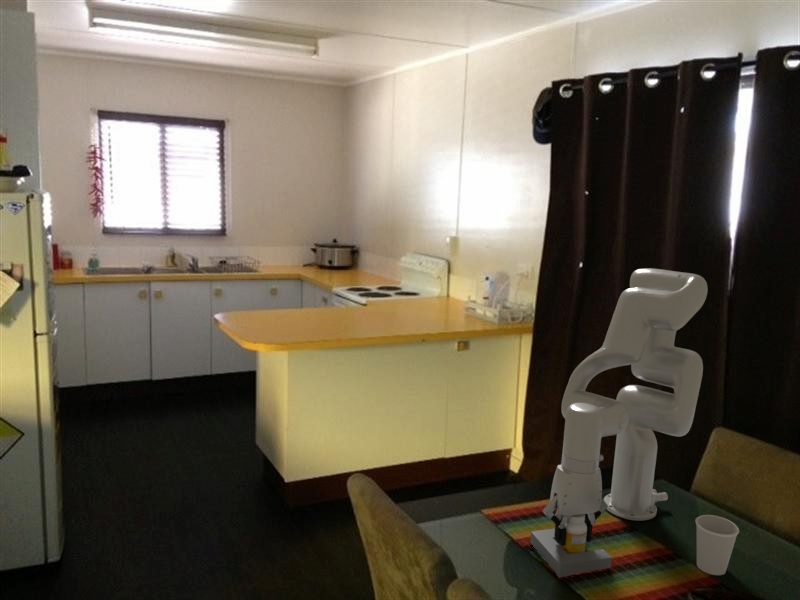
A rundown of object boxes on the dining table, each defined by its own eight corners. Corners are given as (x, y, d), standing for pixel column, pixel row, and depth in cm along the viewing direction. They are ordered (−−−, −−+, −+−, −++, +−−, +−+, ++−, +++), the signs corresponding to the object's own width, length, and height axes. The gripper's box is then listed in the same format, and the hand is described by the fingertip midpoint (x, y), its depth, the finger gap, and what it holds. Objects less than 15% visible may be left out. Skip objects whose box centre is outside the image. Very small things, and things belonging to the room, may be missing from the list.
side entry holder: (577, 537, 151) (578, 525, 151) (610, 570, 139) (611, 557, 139) (530, 543, 148) (531, 531, 148) (559, 578, 136) (560, 565, 135)
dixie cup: (711, 553, 147) (717, 512, 145) (742, 575, 139) (748, 532, 137) (681, 559, 144) (686, 517, 142) (710, 582, 136) (716, 537, 134)
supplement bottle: (555, 547, 146) (559, 507, 144) (579, 547, 147) (583, 506, 145) (563, 562, 141) (567, 520, 139) (587, 561, 141) (592, 519, 139)
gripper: (605, 451, 146) (597, 527, 149) (534, 458, 141) (528, 536, 144) (625, 466, 138) (617, 545, 142) (552, 473, 134) (545, 555, 137)
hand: (572, 539), depth 143 cm, fingers closed on supplement bottle, 5 cm apart
